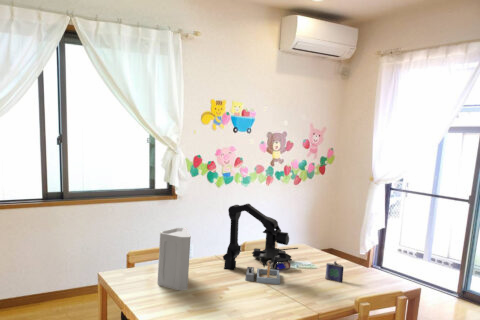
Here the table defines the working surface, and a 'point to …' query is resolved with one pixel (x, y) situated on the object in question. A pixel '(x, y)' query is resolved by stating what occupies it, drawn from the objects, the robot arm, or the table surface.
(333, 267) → the wallet
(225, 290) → the table surface
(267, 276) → the tan wooden block
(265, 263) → the toy tank
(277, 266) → the figurine character
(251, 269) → the dispenser
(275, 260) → the robot arm
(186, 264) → the tall grey upright pillar
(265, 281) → the tray
